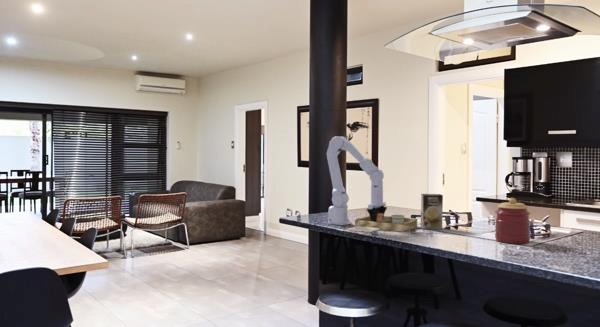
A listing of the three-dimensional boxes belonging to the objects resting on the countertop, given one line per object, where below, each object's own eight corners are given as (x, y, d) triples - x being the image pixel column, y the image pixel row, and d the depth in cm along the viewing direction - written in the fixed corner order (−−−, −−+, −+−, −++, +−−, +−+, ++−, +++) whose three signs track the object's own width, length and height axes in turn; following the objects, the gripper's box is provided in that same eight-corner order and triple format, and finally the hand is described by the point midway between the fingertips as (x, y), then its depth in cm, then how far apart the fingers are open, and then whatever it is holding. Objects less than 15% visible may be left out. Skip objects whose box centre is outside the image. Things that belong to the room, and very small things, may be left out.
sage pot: (389, 228, 219) (389, 215, 219) (394, 226, 224) (394, 214, 224) (400, 229, 216) (400, 216, 215) (406, 228, 220) (406, 215, 220)
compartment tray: (355, 226, 226) (354, 218, 226) (370, 222, 238) (370, 214, 238) (403, 231, 210) (403, 223, 210) (417, 227, 222) (417, 218, 222)
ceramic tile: (347, 229, 216) (347, 228, 216) (357, 227, 224) (357, 225, 224) (370, 232, 209) (370, 231, 209) (380, 229, 216) (380, 228, 216)
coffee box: (422, 229, 216) (422, 195, 216) (420, 227, 223) (420, 193, 222) (442, 229, 215) (442, 195, 215) (440, 227, 222) (440, 193, 221)
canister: (515, 245, 179) (515, 200, 178) (488, 240, 191) (488, 197, 190) (537, 242, 185) (537, 198, 184) (509, 236, 197) (509, 195, 196)
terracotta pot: (368, 225, 226) (368, 213, 226) (374, 224, 231) (374, 211, 231) (379, 227, 222) (379, 214, 222) (385, 225, 227) (385, 212, 227)
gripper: (377, 196, 218) (377, 225, 218) (391, 193, 229) (391, 221, 230) (364, 195, 222) (364, 223, 223) (378, 193, 234) (378, 219, 234)
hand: (377, 222), depth 226 cm, fingers closed on terracotta pot, 6 cm apart
